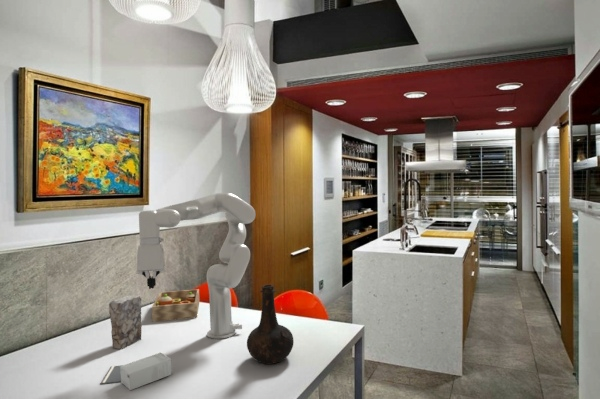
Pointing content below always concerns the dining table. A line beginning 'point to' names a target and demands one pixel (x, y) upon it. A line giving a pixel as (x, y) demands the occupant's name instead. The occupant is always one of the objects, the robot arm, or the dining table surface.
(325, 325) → the dining table surface
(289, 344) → the glass bottle
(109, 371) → the mat
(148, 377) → the skincare box
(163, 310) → the crate
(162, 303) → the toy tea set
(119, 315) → the stone block
